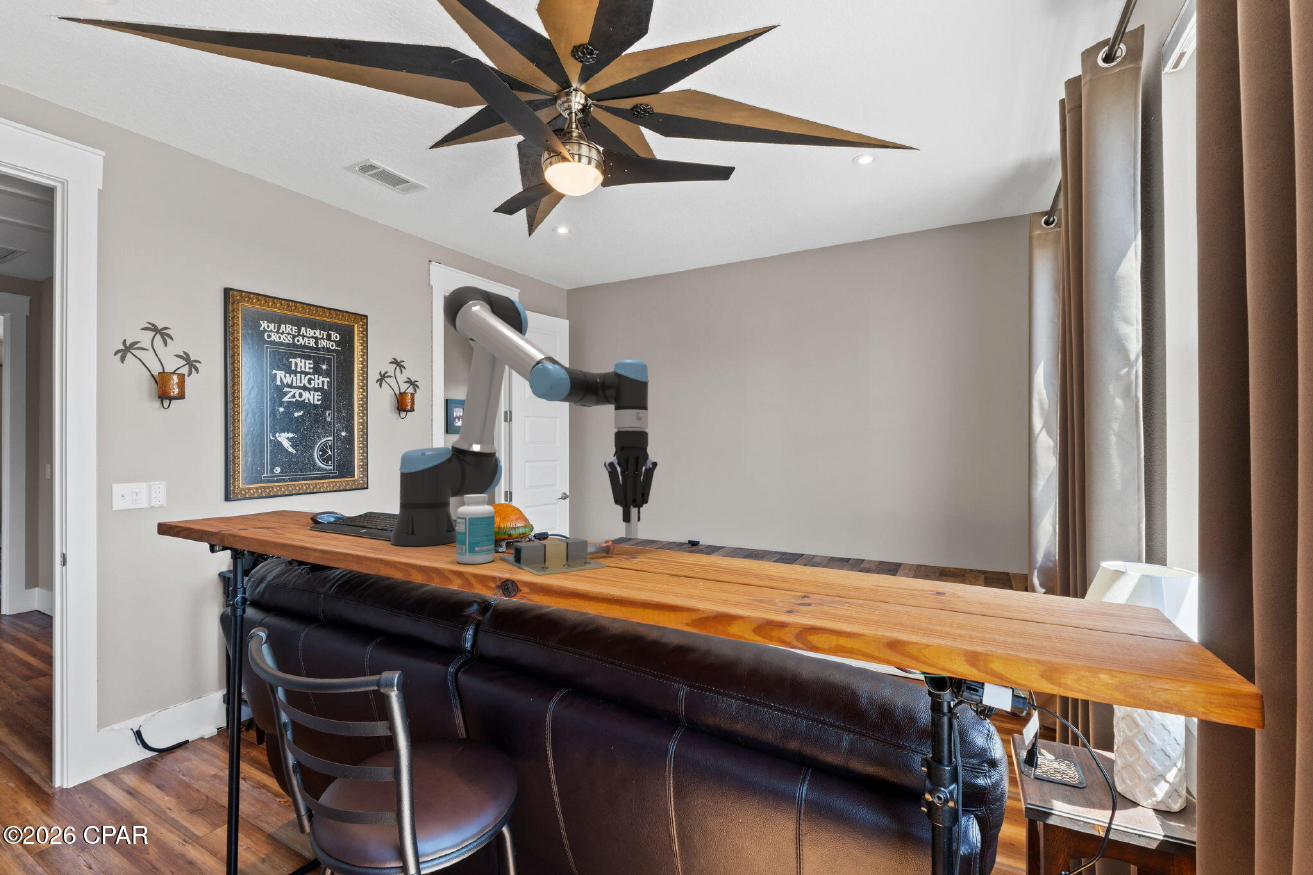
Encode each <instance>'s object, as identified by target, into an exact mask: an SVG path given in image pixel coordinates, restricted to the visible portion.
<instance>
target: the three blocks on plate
mask: <svg viewBox="0 0 1313 875" xmlns="http://www.w3.org/2000/svg"><path fill="white" fill-rule="evenodd" d="M588 542H589V541H588V540H585V539H582V538H579V537H571V538H561V539H559V538H558V539H547V540H538V541H537V540H536V541H526V542H525V541H524V542H513V544H512V546H513V548H512V554H509V555H508V554H507V555H499V558H498V559H499V561H500V560H501V561H503V562H505V563H508V564H510V565H513V566H515V567H517V568H520V569H523V570H524V571H527V572H530V573H533V574H535V575H536V576H545V575H554V574H563V573H568V572H569V573H570V572H571V573H572V572H579V571H587V570H594V569H595V570H596V569H602V568H607V563H605V562H600V561H597V560H594V559H591V558H588V556H589V555H588V544H589V543H588Z"/></svg>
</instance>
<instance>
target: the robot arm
mask: <svg viewBox="0 0 1313 875" xmlns="http://www.w3.org/2000/svg"><path fill="white" fill-rule="evenodd" d="M442 309H443V316H444V320H445V321H446V322H447V324H448V325H449V326H450V327H451V328H452V329H453V330H454V331H456V333H458V334H459V335H460V336H462V337H463V338H466V339H469V340H468V342H469V343H470V346H472V348H473V353H472V354H473V355H472V359H471V364H470V370H469V377H468V384H467V390H466V395H465V399H464V407H463V411H462V418H461V423H460V424H461V425H460V430H459V434H458V435H459V437H458V438H457V439H456V440H454V441H453V442H452V443H451V448H450V447H447V446H440V447H430V448H429V447H426V448H425V447H423V448H417V449H412V450H406V451H405V452H403V453H402V454H401V457H400V464H399V465H400V466H399V469H398V470H399V511H398V514H397V518H396V521H395V523H394V526H393V529H392V532H391V534H390V544H391V545H394V546H400V547H401V546H402V547H422V546H423V547H425V546H439V545H446V544H451V543H454V542H456V538H457V527H456V525H455V522H454V518H453V515H452V513H451V508H450V507H451V498H461V497H462V498H464V495H477V494H484V495H489V494H490V493H491V492H493V491H494V490H495V489H497V487H498V485H499V484H500V482H501V479H502V476H503V465H502V464H501V459H500V458H499V456H497V448H496V446H494V445H493V440H494V433H495V429H496V422H497V416H498V410H499V404H500V399H501V393H502V389H503V381H504V377H505V376H504V375H505V370H506V366H507V367H508V368H509V369H511V370H512V371H514V372H515V373H516V374H518V375H519V377H521V378H522V379H524V380H525V381H526V382H527V383H528V385H529V388H530V390H531V392H532V394H533V395H534V396H535V397H536V398H538V399H541V400H545V401H548V402H558V403H560V402H562V403H570V404H573V405H574V406H576V407H583V408H592V407H599V406H614V408H613V409H614V413H613V414H614V415H613V416H614V417H613V418H614V421H613V422H614V423H613V424H614V425H613V428H614V429H616V431H614V440H613V442H614V448H615V449H614V454H613V457H612V458H611V459H610V460H609V461H605V462H604V463H603V466H604V469H605V470H606V471H607V474H608V479H609V484H610V488H611V493H612V498H613V502H614V505H616V506H619V507H620V508H622V513H621V514H622V516H621V517H622V522H623V523H625V524H624V525H625V527H624V528H625V530H624V531H625V532H624V533H625V534H624V535H625V538H628V539H637V538H639V537H638V536H639V534H638V532H639V530H638V529H639V528H638V525H639V523H640V522H641V508H643V507H644V505H647V504H648V503H649V500H650V495H651V494H650V493H651V490H652V485H653V479H654V474H655V471H656V469H657V467H658V462H657V461H653V460H652V459H651V458H650V455H649V452H648V447H649V432H648V431H646V429H648V428H649V407H648V406H649V397H648V396H649V382H650V380H649V372H648V371H649V370H648V364H647V363H646V362H645V361H644V360H641V359H619V360H617V361H615V363H614V367H613V371H612V370H611V371H607V372H591V371H587V370H583V369H578V368H573V367H568V366H566V365H564V364H563V363H561V362H560V361H559V360H557V359H556V358H554V357H553V356H552V355H550V354H549V353H548V352H546V351H545V350H543V349H542V348H540V346H538V345H537V344H536V343H534V342H533V341H531V340H529V338H527V337H526V335H527V331H528V328H529V319H528V314H527V311H526V310H525V309H524V307H523V305H522V304H521V303H520V302H518V301H517V300H515V299H513V298H511V297H509V296H506V295H504V294H503V295H502V294H500V293H495V292H492V291H488V290H486V289H482V288H480V287H477V286H474V285H473V286H471V285H464V286H459V287H457V288H455V289H453V290H451V292H449V294H448V295H447V296H446V298H445V299H444V302H443V307H442ZM618 468H619V470H618ZM643 469H644V470H643Z"/></svg>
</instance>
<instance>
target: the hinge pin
mask: <svg viewBox="0 0 1313 875" xmlns="http://www.w3.org/2000/svg"><path fill="white" fill-rule="evenodd" d="M615 547H616V546H615V542H614V541H613V540H612V539H606V540H605V541H603V542H594V543H593V542H592V543H588V556H589V555H597V554H605V555H613V554H614V552H615Z"/></svg>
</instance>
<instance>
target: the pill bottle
mask: <svg viewBox="0 0 1313 875" xmlns="http://www.w3.org/2000/svg"><path fill="white" fill-rule="evenodd" d="M488 500H489V494H485V495H484V494H477V495H464V497H463V502H464V504H463V505H462V506H461V507H459V508H458V509H457V511H456V531H457V538H456V541H455V542H456V548H455V549H456V551H455V552H456V553H455V554H456V561H457V562H458V563H459V564H463V565H477V564H480V565H481V564H485V563H489V562H490V563H491V562H492V561H494V559H495V549H496V548H495V544H496V543H495V540H496V539H495V535H496V534H495V528H496V527H495V525H496V524H495V523H496V522H495V519H496V518H495V515H496V512H495V509H494V507H492V506H491V505H488V504H487V503H488Z"/></svg>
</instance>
